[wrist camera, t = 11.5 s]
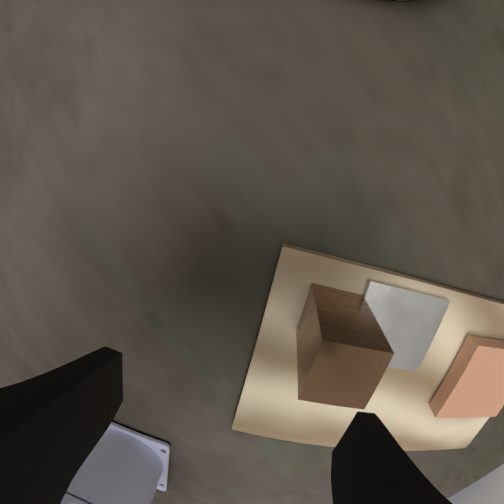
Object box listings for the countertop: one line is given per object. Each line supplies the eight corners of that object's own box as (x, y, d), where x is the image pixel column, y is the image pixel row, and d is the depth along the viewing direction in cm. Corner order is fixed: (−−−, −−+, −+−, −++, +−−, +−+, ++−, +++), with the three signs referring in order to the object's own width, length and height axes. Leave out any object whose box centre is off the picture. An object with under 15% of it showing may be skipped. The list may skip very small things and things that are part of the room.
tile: (427, 402, 18) (487, 404, 17) (435, 417, 16) (495, 416, 16) (466, 332, 16) (523, 342, 16) (478, 345, 15) (534, 353, 14)
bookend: (414, 366, 17) (447, 428, 11) (291, 344, 18) (290, 415, 12) (446, 298, 16) (497, 347, 10) (316, 265, 16) (331, 316, 10)
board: (463, 442, 20) (465, 447, 19) (232, 421, 21) (231, 429, 20) (540, 312, 16) (545, 316, 15) (282, 242, 17) (282, 246, 16)
